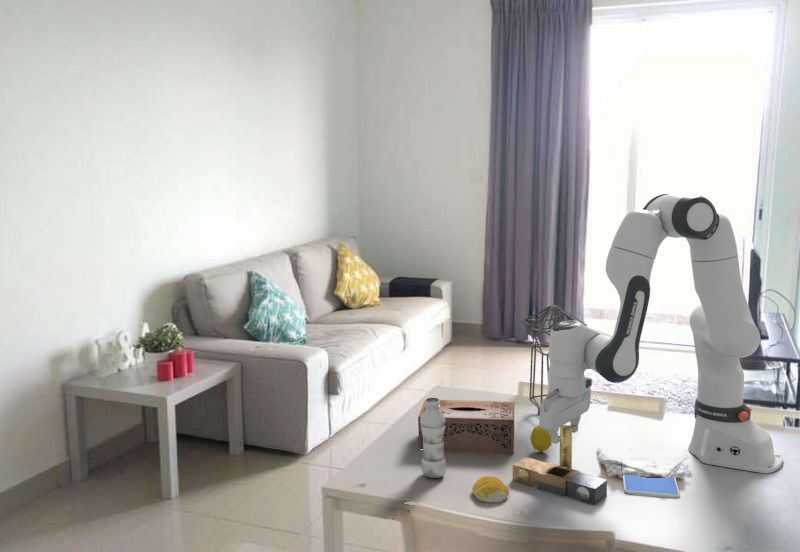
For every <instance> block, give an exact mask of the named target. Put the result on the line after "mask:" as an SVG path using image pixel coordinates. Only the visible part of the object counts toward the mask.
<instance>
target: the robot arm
mask: <svg viewBox="0 0 800 552" xmlns="http://www.w3.org/2000/svg"><path fill="white" fill-rule="evenodd" d="M667 237H669V238H676V239H679V238H685V239H686V242H687V243H688V245H689V246H688V247H689V250H690V251H689V253H690V262H691V269H692V278H693V285H694V289H695V290H694V291H695V292H696V294H697V296H698V298H699V301H700V305H698V306H697V307H696V308H694V310H692V312H691V314H690V316H689V326H690V329H691V332H692V336H693V337H692V338H693V342H694V343H693V345H694V350H695V357H696V363H697V393H696V394H697V395H696V398H695V402H694V411H693V413H694V419H695V421H694V426H693V427H694V428H693V433H692V436H691V440H690V443H689V445H688V451H689V452H690V453H691V454H692V455H694V456H695V457H697V458H698V459H699V460H700V461H701V463H703V464H707V465H713V466H719V467H725V468H729V469H737V470H742V471H747V472H754V473H759V474H770V473H773V472H775V471H777V470H779V469H780V468H781V467H782V466H783V463H784V459H783V455H782V454H781V453H780V452H778V451H775V450H774V443H773V439H772V436H771V434H770V433H768V432H767V431H766V430H764V429H763V428H762V427H761V426H760V425H758V423H756V422H755V421H754V420H753V419H751V416H752V415H751V414H752V413H751V412H752V409H753V406H752V405H750V406H747V404H745V403H744V385H745V383H744V382H745V373H744V370H743V368H742V364H741V361H740V359H742V358H746V357H747V358H748V357H749V356H751V355H753V354H754V353H755V352H756V351H757V350H758V348H759V346H760V344H761V333H760V330H759V329H758V327H757V326H756V323H755V321H754V319H753V316H752V313H751V310H750V307H749V304H748V301H747V297H746V295H745V292H744V288H743V283H742V279H741V269H740V263H739V262H740V261H739V253H738V247H737V246H738V245H737V241H736V237H735V233H734V229H733V226H732V224H731V221H730V219H729V218H728V217H727V216H725V215H724V214H721V213H718V212H717V210H716V207H715V205H714V204H713V203H712V201H710V200H709V199H708V198H707V197H705V196H702V195H700V194H695V193H692V194H690V193H684V192H683V193H682V192H676V193H662V194H659V195H656V196H654V197H653V198H651V199H650V200H648V202H647V203H646V204H645V205H644V207H642V208H641V209H633V210H631V211H629V212H627V214H626V215H625V216H624V218H623V219H622V221H621V223H620V225H619V227H618V228H617V231H616V233H615V236H613V240H612V243H611V245H610V248H609V250H608V254H607V257H606V261H605V262H606V263H605V273H606V276H607V278H608V281H610V283H611V284H612V285H613V286H614V288H615V290H616V291H617V294H618V296H619V301H620V303H619V304H620V305H619V311H618V315H617V317H616V322H615V323H616V324H615V327H614V330H613V334H612V335H610V334H608V333H605V332H603V331H600V330H595V329H593V328H590V327H589V326H588V325H587V326H585V325H583V323H581V322H580V321H581V320H580V321H578V320H577V319H575V320H567V319H566V320H562V322H561V321H559V322H557V324H555V325H554V326H553V327H552V328H551V329H552V330H551V329H550V330H551V332H549V334H550V336H549V338H548V339H549V340H548V343H549V344H548V352H549V354H548V353H547V354H548V357H549V370H548V375H547V393H546V394H547V395H546V396H545V398H543V399H542V403H541V402H540V406H541V407H540V415H539V420H538V421H539V423H538V425H539V426H540V428H541V429H543V430H547V431H549V433H550V436H551V444H554V445H557V444H560V435H559V433H558V432H559V431H560V427H561V426H563V425H567V424H568V423H569V422H570V424H569V426H571V427H572V434H573V433H574V434H575V433H577V432H578V430H579V425H580V421H581V417H582V415H583V414H585V413H586V412H588V411H589V409H590V406H591V396H592V392H591V391H592V389H591V387H592V386H593V379H592V378H591V377H588V376H585V371H586V370H592V371H594V373H595V372H596V373H597V374H599V376H601V377H602V378H603V379H605V380H606V381H607V382H609V383H613V384H618V383H623V382H625V381H627V380H630V378H631V377H633V375H634V374H635V373H636V371H637V370H638V367H639V364H640V362H639V361H640V341H641V336H642V333H643V332H642V331H643V329H644V325H645V319H646V316H647V311H648V307H649V302H650V297H651V284H650V283H651V275H652V271H653V267H654V264H655V260H656V258H657V254H658V252H659V251H658V250H659V247H660V246H661V244H662V243H663V241H664V240H665V239H666V238H667ZM576 320H577V321H576ZM548 392H549V393H548Z"/></svg>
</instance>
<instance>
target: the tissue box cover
mask: <svg viewBox="0 0 800 552" xmlns="http://www.w3.org/2000/svg"><path fill="white" fill-rule="evenodd" d="M426 399H427V398H425V399H424V401H423V404H422V406H421V409H420V411H419V414H418V417H417V418H418V423H417V424H418V425H417V426H418V428H417V429H418V450H419V449H423V436H422V430H421V423H420V419H421V416H422V414H423V412H424V411H425V410H426V408H425V400H426ZM439 400H440V408H439V409H440V411H441V412H442V413H443V415H444V417H445V431H444V451H450V452H449V453H470V454H472V453H473V454H475V453H476V454H480V453H481V454H495V455H496V454H497V455H498V454H499V455H501V454H502V455H514V453H515V452H514V451H515V401H501V400H500V401H499V400H498V401H497V400H492V401H491V400H463V399H460V400H459V399H458V400H457V399H456V400H455V399H439Z"/></svg>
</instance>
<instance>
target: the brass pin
mask: <svg viewBox="0 0 800 552" xmlns="http://www.w3.org/2000/svg"><path fill="white" fill-rule="evenodd" d="M569 425H570V424H569ZM569 425H568V424H564V425H563V426H561V427H559V436H560V442H559V465H560V466H563V467H567V468H571V469H573V468H572V465H573V464H572V461H573V459H572V458H573V457H572V456H573V432H572V427H571V426H569Z"/></svg>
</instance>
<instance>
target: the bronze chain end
mask: <svg viewBox="0 0 800 552" xmlns="http://www.w3.org/2000/svg"><path fill="white" fill-rule="evenodd" d="M577 472H581V471H580V470H579V469H574V468H572V469H571V468H567V467H563V466H560V464H556V463H552V462H551V463H550V462H549V463H548V462H545V461H542V460H539V459H535V458H531V457H528V456H525V457H522V458H521V459H519V460H518V461H516V462H515V463H512V480H513V481H515V482H519V483H523V484H526V485H529V486H531V487H535V488H538V481H540V482H543V483H547V484H550V485H553V486H556V487H560V488H563V489H566V480H568V479H569V478H571V477H572V476H573V475H575V474H576V473H577ZM555 474H556V475H559V476H562V477H559V476H555Z"/></svg>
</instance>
